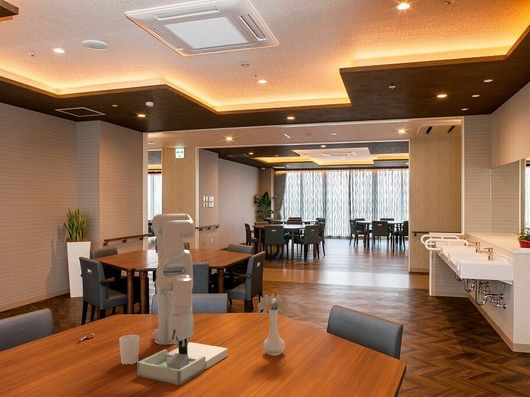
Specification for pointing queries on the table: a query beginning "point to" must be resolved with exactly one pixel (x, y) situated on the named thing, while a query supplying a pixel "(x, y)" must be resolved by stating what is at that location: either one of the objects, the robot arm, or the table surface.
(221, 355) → the plate
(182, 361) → the grey square block
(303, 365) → the table surface
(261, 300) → the flower vase
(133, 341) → the white cup
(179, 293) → the robot arm
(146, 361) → the box
